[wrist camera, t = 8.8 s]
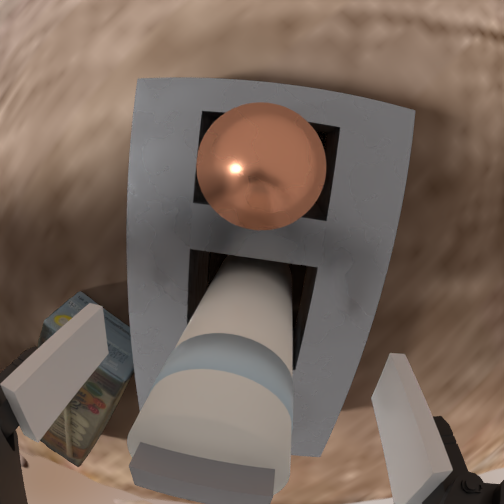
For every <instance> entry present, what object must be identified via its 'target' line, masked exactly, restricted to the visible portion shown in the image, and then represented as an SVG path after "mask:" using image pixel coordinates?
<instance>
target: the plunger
mask: <svg viewBox="0 0 504 504" xmlns="http://www.w3.org/2000/svg"><path fill="white" fill-rule="evenodd" d="M196 169H197V178H198V182H199V185H200V188H201V191H202V193H203V195H204V197H205V199H206V200H207V202H208V203H209V204H210V206H211V207H212V208H213V209H214V210H215V211H216V212H217V213H218V214H219V215H220V216H221V217H223V218H224V219H226V220H227V221H229V222H231V223H233V224H235V225H237V226H240V227H243V228H246V229H251V230H272V229H278V228H281V227H284V226H287V225H289V224H291V223H293V222H295V221H296V220H298V219H299V218H301V217H302V216H303V215H304V214H306V213H307V212H308V211H309V210H310V208H311V207H312V206H313V205H314V203H315V202H316V201H317V199H318V197H319V195H320V193H321V191H322V188H323V185H324V182H325V177H326V157H325V152H324V148H323V145H322V142H321V140H320V138H319V136H318V134H317V133H316V132H315V130H314V129H313V127H312V126H311V125H310V124H309V123H308V122H307V121H306V120H305V119H304V118H303V117H302V116H300V115H299V114H297V113H296V112H294V111H293V110H291V109H288V108H286V107H284V106H281V105H277V104H272V103H263V102H258V103H249V104H245V105H241V106H238V107H236V108H233V109H231V110H229V111H228V112H226V113H225V114H223V115H222V116H220V117H219V118H218V119H217V120H216V121H215V122H214V123H213V124H212V125H211V126H210V128H209V129H208V130H207V132H206V133H205V135H204V137H203V139H202V141H201V143H200V147H199V150H198V155H197V164H196Z"/></svg>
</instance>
